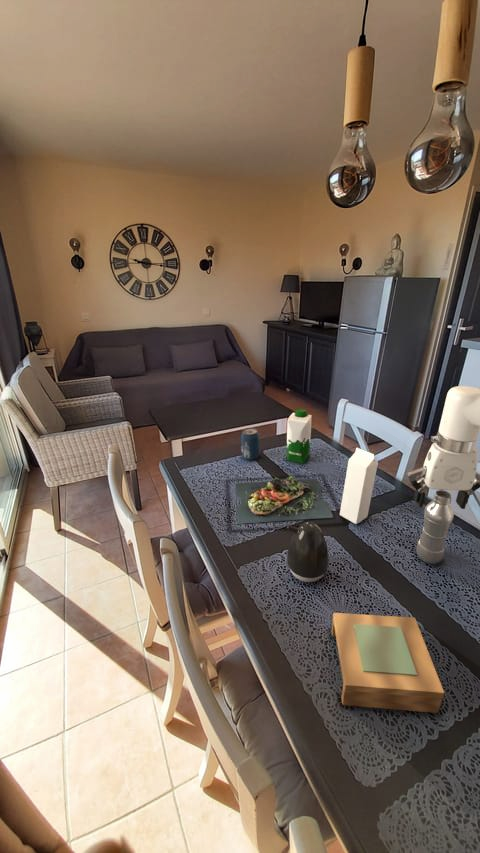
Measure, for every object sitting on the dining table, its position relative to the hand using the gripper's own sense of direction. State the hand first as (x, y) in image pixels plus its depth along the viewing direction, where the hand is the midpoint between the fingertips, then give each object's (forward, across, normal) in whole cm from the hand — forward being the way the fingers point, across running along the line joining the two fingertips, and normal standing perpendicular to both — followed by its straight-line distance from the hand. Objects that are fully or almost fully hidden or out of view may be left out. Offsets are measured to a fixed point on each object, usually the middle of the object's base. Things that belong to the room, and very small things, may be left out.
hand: (439, 504), depth 88 cm
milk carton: (+18, -30, +52) cm, 63 cm away
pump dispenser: (+18, -31, -7) cm, 37 cm away
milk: (+17, -16, +16) cm, 28 cm away
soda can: (+18, -49, +52) cm, 74 cm away
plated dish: (+18, -38, +23) cm, 47 cm away
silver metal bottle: (+17, +1, 0) cm, 17 cm away
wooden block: (+17, -19, -30) cm, 40 cm away
